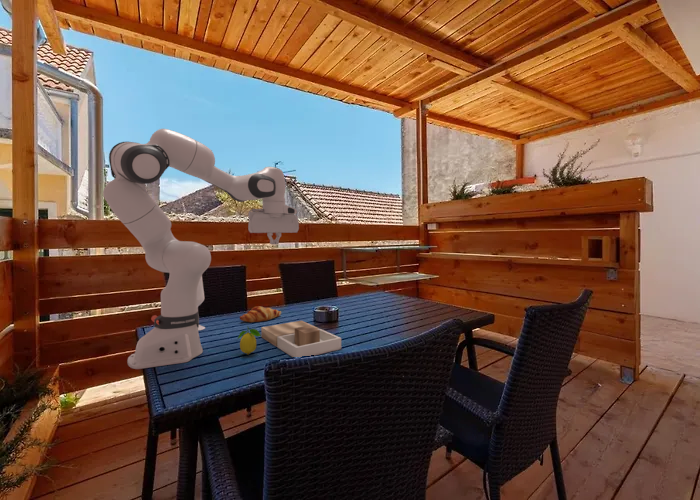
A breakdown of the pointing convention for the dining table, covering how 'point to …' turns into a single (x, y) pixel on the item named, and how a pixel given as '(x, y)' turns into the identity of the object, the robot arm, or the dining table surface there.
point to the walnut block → (306, 335)
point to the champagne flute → (200, 298)
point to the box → (309, 345)
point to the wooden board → (281, 330)
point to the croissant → (260, 314)
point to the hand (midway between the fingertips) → (274, 244)
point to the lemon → (248, 341)
